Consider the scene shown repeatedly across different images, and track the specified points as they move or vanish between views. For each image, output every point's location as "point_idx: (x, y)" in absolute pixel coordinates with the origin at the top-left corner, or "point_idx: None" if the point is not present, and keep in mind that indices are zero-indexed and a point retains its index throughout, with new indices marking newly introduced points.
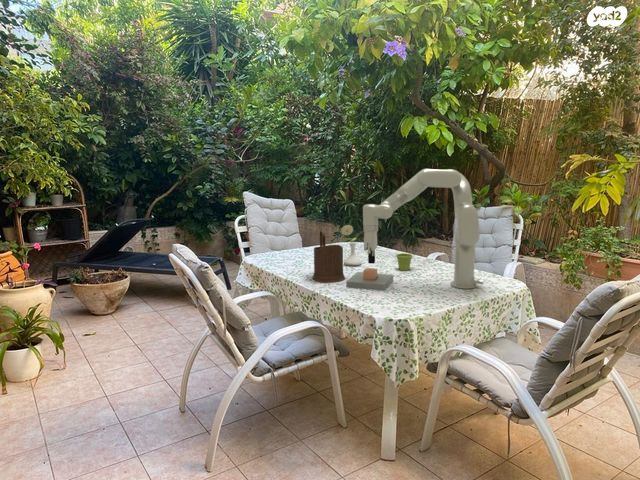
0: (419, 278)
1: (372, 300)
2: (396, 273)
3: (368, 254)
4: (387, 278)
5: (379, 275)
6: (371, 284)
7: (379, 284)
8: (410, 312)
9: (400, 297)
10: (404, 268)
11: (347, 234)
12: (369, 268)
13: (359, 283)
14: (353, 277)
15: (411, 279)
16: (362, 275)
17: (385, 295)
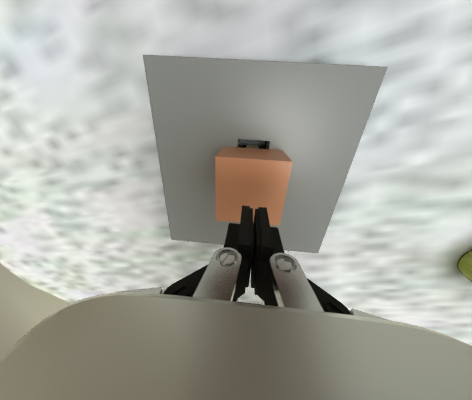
0: (337, 296)
1: (70, 207)
2: (417, 240)
3: (210, 266)
4: None
5: (302, 207)
6: (166, 194)
7: (169, 223)
8: (58, 283)
9: (139, 265)
10: (467, 268)
11: None
12: (280, 184)
13: (158, 141)
14: (239, 79)
15: (324, 280)
16: (294, 125)
17: (134, 233)
